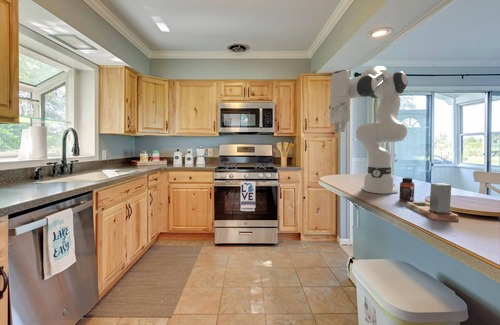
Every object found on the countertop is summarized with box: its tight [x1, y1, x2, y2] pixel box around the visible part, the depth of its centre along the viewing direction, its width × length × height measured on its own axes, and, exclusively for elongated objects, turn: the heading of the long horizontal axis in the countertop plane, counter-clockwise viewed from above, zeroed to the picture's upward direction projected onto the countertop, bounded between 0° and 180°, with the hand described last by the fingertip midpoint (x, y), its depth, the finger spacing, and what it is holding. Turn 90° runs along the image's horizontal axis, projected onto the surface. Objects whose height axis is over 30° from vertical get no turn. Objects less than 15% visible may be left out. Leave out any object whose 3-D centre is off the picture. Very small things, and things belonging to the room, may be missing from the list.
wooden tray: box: [406, 201, 460, 222], centre depth 102 cm, size 19×8×2 cm, turn 176°
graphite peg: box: [429, 182, 452, 215], centre depth 96 cm, size 4×4×13 cm
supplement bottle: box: [398, 177, 415, 203], centre depth 121 cm, size 6×6×11 cm
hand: (339, 132), depth 125 cm, fingers open, 8 cm apart
